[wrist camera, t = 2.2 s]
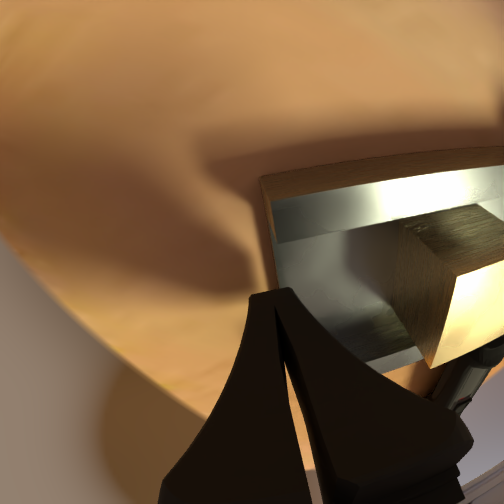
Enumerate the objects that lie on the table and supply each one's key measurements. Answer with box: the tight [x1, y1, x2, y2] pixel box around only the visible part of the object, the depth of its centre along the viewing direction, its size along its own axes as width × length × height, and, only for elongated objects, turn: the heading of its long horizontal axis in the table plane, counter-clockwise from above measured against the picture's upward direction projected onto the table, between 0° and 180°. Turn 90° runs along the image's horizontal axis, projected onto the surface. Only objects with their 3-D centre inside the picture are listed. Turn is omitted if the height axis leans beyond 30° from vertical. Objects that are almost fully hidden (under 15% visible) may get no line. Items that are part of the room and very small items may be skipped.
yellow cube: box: [392, 204, 504, 369], centre depth 10 cm, size 4×4×4 cm
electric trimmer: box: [426, 334, 504, 417], centre depth 16 cm, size 4×16×3 cm, turn 6°
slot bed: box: [259, 146, 504, 374], centre depth 11 cm, size 12×8×2 cm
